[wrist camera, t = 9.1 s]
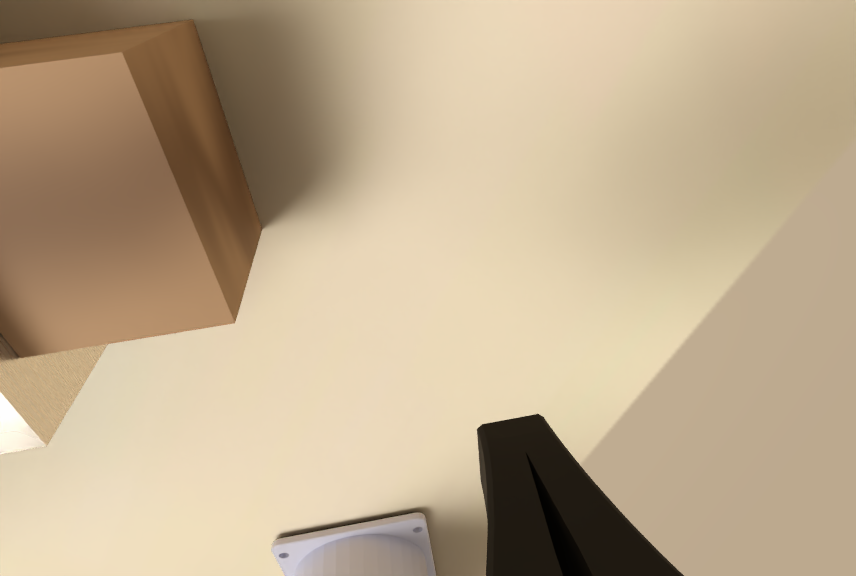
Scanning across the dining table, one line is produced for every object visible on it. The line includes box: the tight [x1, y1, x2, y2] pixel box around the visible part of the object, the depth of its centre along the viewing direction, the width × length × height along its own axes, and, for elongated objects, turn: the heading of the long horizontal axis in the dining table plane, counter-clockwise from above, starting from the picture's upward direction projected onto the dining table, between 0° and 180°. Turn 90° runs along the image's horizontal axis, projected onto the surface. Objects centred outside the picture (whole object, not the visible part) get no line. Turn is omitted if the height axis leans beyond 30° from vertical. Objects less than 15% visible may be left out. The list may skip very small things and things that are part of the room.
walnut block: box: [0, 20, 262, 358], centre depth 12 cm, size 6×5×5 cm
